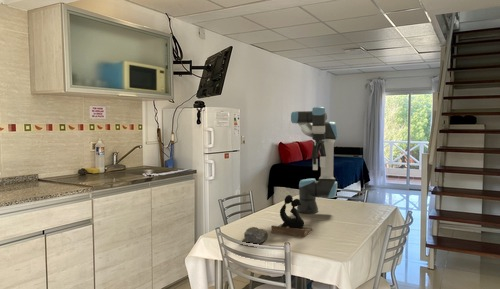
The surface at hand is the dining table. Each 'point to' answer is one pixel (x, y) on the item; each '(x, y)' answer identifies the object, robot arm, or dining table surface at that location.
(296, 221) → the figurine
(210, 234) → the dining table surface
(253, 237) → the rock
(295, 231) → the display board
